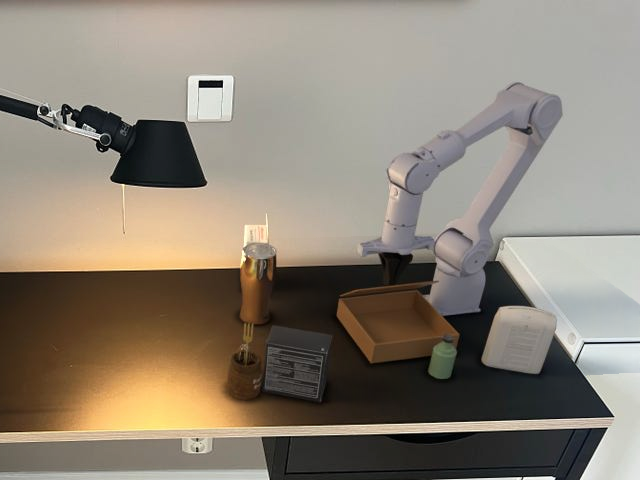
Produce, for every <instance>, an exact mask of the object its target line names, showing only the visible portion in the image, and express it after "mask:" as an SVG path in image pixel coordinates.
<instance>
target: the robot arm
mask: <svg viewBox="0 0 640 480" xmlns="http://www.w3.org/2000/svg"><path fill="white" fill-rule="evenodd" d="M562 103H563V102H562V99H561V97H559V95H557V94H553V93H549V92H546V91H543V90H540V89H538V88H535V87H531V86H528V85H525V84H524V83H523V82H519V81H515V82H511V83H509V84H508V85H506V86H505V88H503V89H501V90H499V91H497V93H496V95H495V96H494V100H493V102H492V103H491V104H489V105H488V106H486V107H485V108H484V109H483V110H482V111H480V112H479V113H477V114H476V115H475V116H473V117H472V118H471V119H470V120H468V121H467V122H466V123H464V125H462V126H460V127H459V128H458V129H457V130H453V129H445V130H441V131H439V132H438V133H437V134H436V136H435V137H433V138H432V139H430V140H428V141H427V142H425V143H424V144H422V145H421V146H418V147H417V148H415V150H413V151H412V152H403V153H401V154H398V155H396V156H395V157H393V159H392V160H391V162H390V163H389V166H388V168H385V176H386V179H387V180H388V190H389V195H388V202H387V205H386V206H387V207H386V211H385V218H384V223H383V228H382V229H383V230H382V235H381V237H378V238H375V239H371V240H369V241H365V242H360V243H359V242H358V245H357V252H356V253H357V254H358V256H360V257H361V258H365V257H367V256H368V255H376V254H377V255H378V258H379V260H380V263H381V268H382V276H383V284H384V285H385V286H394V285H397V282H398V280H399V278H400V276H401V275H402V273H403V271H405V269H406V267H407V266H409V264H411V263H412V262H413V259H414V255H413V254H412V251H416V250H417V251H418V250H428V251H431V252H432V254H433V255H434V256H435V258H434V259H435V260H434V262H435V263H436V267H435V271H434V274H433V280H432V281H439V282H437V283H434V284H431V288H430V292H429V294H422V295H423V296H424V298H425V299H426V300H427V301H428V302H429V303H430V304H431V305H432V306H433V307H434V308H435V309H436V310H437V311H438V312H439V313H440V314H441V315H442V316H443V317H444V316H453V315H462V314H470V313H480V312H481V308H479V307H480V304H481V301H482V296H483V293H484V289H485V285H486V273H485V270H484V267H485V266H486V263H487V261H488V258H489V255H490V252H491V250H492V249H493V247H494V239H493V238H492V234H491V231H490V229H491V227H492V226H493V224H494V223H495V222H496V220H497V218H498V217H499V215H500V214H501V212H502V210H503V208H504V207H505V206H506V204H507V203H508V202H509V200H510V198H511V197H512V195H513V193H514V192H515V191H516V188H517V187H518V186H519V184H520V183H521V181H522V180H523V178H524V176H525V175H526V173H527V172H528V170H529V169H530V167H531V166H532V164H533V163H534V161H535V160H536V158H537V156H538V155H539V154H540V152H541V150H542V148H543V147H544V145H545V144H546V143H547V140H549V138H550V136H551V135H552V133H553V131H554V130H555V128H557V125H558V123H559V122H560V121H561V119H562V118H563V116H564V114H563V113H564V112H563V104H562ZM504 127H505V128H506V130H507V132H508V134H509V136H508V137H509V143H508V145H507V146H506V148H505V149H504V151H503V153H502V154H501V156H500V157H499V159H498V161H497V163H496V164H495V165H494V167H493V169H492V170H491V172H490V173H489V175H488V177H487V178H486V180H485V182H484V183H483V185H482V186H481V187H480V189H479V191H478V193H477V194H476V195H475V197H474V199H473V201H472V202H471V204H470V205H469V207H468V208H467V210H466V212H465V214H464V215H462V216H460V217H457V218H454V219H451V220H449V221H448V223H447V225H446V226H445V227H444V228H442V230H441V231H440V232H439V233H438V234H437V235H436V236H435V237H434V238H433V237H432V236H431V235H426V236H423V235H421V236H420V235H416V232H417V231H416V230H417V225H418V220H419V216H420V211H421V205H422V201H423V197H424V196H423V195H424V192H426V191H428V190H429V189H430V188H431V186H432V184H433V183H434V181H435V180H436V179H437V178H438V177H439V175H440V173H442V172H443V171H445V170H446V169H448V168H449V167H451V166H453V165H454V164H455V163H457V162H458V161H460V160H461V159H463V158H464V157H465V154H466V151H467V148H468V147H470V146H472V145H473V144H475V143H477V142H478V141H480V140H482V139H484V138H486V137H488V136H490V135H491V134H493V133H495V132H496V131H498V130H501V129H502V128H504Z"/></svg>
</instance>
